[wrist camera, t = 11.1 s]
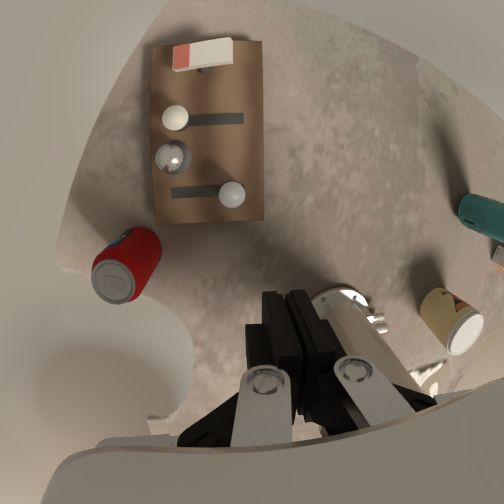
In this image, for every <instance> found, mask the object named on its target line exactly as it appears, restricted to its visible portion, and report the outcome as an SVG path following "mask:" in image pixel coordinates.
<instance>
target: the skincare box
mask: <svg viewBox="0 0 504 504" xmlns="http://www.w3.org/2000/svg"><path fill="white" fill-rule="evenodd" d="M491 261H492V262H493V263H494V264H495V265H496V267H497V268H498V269H499V270H500V271H502V272H503V273H504V248H503V247H501V246H499V245H498V247H497V249H496V251H495V253H494V255H493V257H492V259H491Z"/></svg>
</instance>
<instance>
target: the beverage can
mask: <svg viewBox="0 0 504 504" xmlns="http://www.w3.org/2000/svg"><path fill="white" fill-rule="evenodd" d="M161 253H162V249H161V244H160V242H159V240H158V238H157V237H156V235H155V234H154V233H153V232H151V231H150V230H148V229H146V228H143V227H134V228H131V229H128V230H127V231H126V232H124V233H123V234H122V235H120V236H119V237H118V238H117V239H116V240H114V241H113V242H112V243H111V244H110V245H109V246H108V247H106V248H105V249H104V250H103V251H102V252H101V253H100V254H99V255H98V256H97V257H96V258H95V260H94V262H93V266H92V275H91V280H92V285H93V288H94V290H95V292H96V293H97V294H98V295H99V297H100V298H102V299H103V300H104V301H106V302H108V303H111V304H123V303H126V302H130V301H133V300H134V299H136V298H137V297H138V296H139V295H140V294H141V292H142V290H143V289H144V287H145V285H146V284H147V282H148V280H149V278H150V277H151V275H152V273H153V271H154V270H155V268H156V266H157V264H158V262H159V261H160V258H161Z"/></svg>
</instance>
